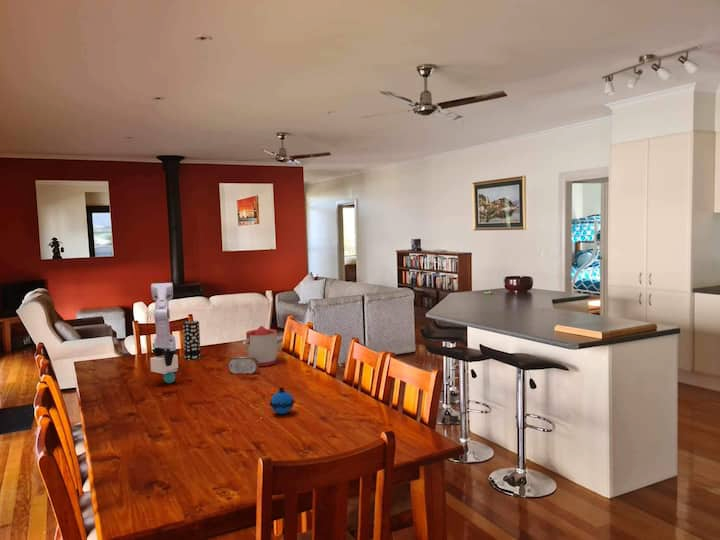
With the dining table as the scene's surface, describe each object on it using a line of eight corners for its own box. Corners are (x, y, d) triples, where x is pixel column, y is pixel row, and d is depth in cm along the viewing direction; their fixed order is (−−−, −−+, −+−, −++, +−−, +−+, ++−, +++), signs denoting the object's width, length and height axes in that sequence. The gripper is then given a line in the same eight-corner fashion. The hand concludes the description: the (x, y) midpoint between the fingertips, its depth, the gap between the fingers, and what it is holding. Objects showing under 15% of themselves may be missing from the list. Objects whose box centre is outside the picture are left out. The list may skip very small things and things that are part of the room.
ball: (165, 369, 243) (172, 374, 246) (159, 379, 240) (166, 384, 243) (172, 370, 240) (179, 376, 243) (165, 380, 237) (173, 386, 240)
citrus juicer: (241, 363, 275) (239, 325, 274) (273, 359, 283) (272, 322, 281) (247, 370, 261) (246, 330, 260) (282, 365, 269) (280, 326, 267)
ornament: (298, 411, 199) (297, 385, 198) (284, 419, 192) (283, 392, 191) (280, 408, 203) (279, 382, 203) (265, 415, 196) (264, 388, 195)
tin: (259, 373, 256) (259, 355, 255) (257, 374, 252) (257, 357, 252) (229, 373, 257) (228, 355, 256) (227, 374, 254) (226, 357, 253)
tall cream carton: (150, 371, 237) (150, 357, 237) (170, 366, 245) (170, 353, 245) (158, 373, 234) (157, 359, 233) (178, 368, 242) (177, 355, 241)
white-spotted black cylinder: (195, 360, 283) (194, 323, 282) (181, 360, 285) (179, 323, 283) (203, 357, 291) (201, 321, 290) (189, 356, 293) (187, 320, 292)
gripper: (145, 334, 240) (147, 364, 241) (164, 338, 231) (166, 368, 232) (159, 332, 245) (161, 361, 246) (178, 335, 237) (180, 365, 238)
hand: (164, 364), depth 239 cm, fingers closed on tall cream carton, 6 cm apart
